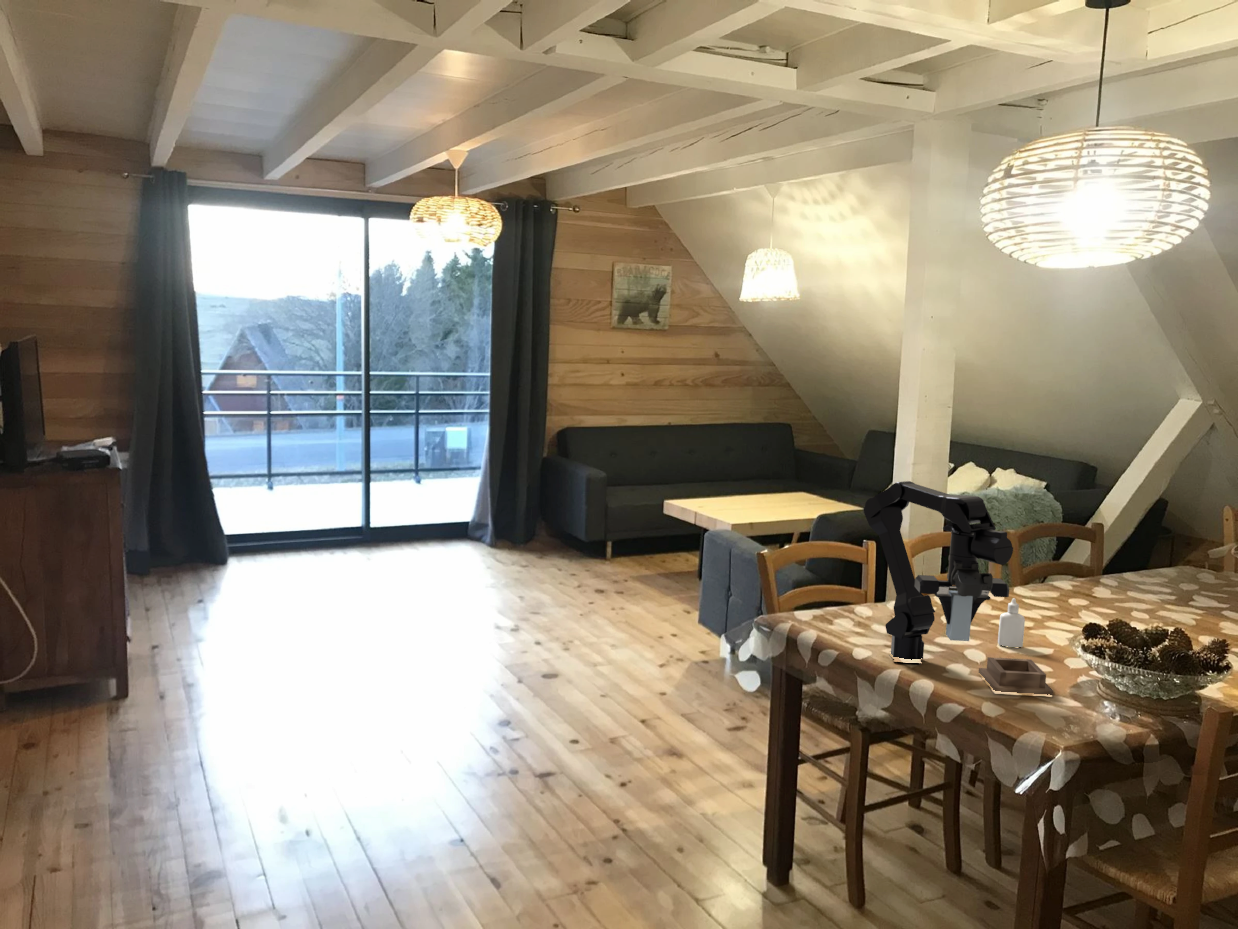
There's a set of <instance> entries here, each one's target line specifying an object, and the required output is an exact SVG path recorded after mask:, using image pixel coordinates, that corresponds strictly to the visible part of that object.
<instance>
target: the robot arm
mask: <svg viewBox="0 0 1238 929" xmlns="http://www.w3.org/2000/svg"><path fill="white" fill-rule="evenodd" d="M910 503H912V504H915V505H918V506H920V507H923V508H927V509H929V510H932V511H936V512H938V513H939V514H941V516H942V517H943V518H944V519H946V520H947V521H949V523H948V524H946V525H945V526H943V528H942V529H943V530H944V531H945V532H946V531H947V532H950V533H951V534H950V545H949V555H948V569H947V570H948V572H947V573H946V579H947V580H941V579H940V580H939V579H937V578H936V577H935V576H934V575H927V574H925V575H924V574H918V575H917V576H916V577H915V574H914V572H913V569H912V566H911V563H910V559H909V555H908V553H907V552H908V551H907V549H906V545H905V543H904V539H903V536H902V532H901V528H902V524H903V521H904V516H903V511H904V510H905V509H906V508H907V507H908V506H909V504H910ZM863 514H864V517H865V518H866V521H867V524H868V526H869V527H870V528H871V529H872V530H873V531H874V533H876V534H877V535H878V537H879V540H880V544H881V546H882V550H883V553H884V554H883V555H884V558H885V560H886V565H887V567H888V568H887V569H888V571H889V575H890V578H891V581H892V584H893V588H894V591H895V594H896V596H895V600H894V604H893V612H894V616H893V617H892V618H891V619H890V620H889V621H887V623H885V630H886V634H888V635H890V636H891V645H890V652H891V654H892V655H893V657H899V658H904V659H911V660H912V659H921V658H922V660H923V659H924V652H925V642H924V641H923V635H928V634H929V631H930V630H931V627H932V626H933V625H934V624H933V623H934V622H935V614H934V613H936V610H935V609H934V607H933V606H934V605H933V604H932V598H931V596H930V595H935V596H936V598H938V599H939V600H938V601H939V602H940V606H941V609H942V611H943V614H944V618H945V622H946V625H947V624H950V618H951V617H950V601H951V596H950V594H949V591H958V594H959V595H960V596H965V597H966V596H973V600H972V613H971V623H972V622H973V620H974V618H975V616H976V614H977V612H978V610H979V608H980V607H981V605H982V604H983V603H984V602H985V601H989V600H991V597H990V595H989V593H991V595H992V596H994V597H995V598H1008V597H1009V595H1010V587H1009V585H1008V584H1007V583H1006V582H1005V581H1004V580H1003V579H1002V578H997V577H995V578H994V576H993V574H992V573H990V572H987V573H986V572H983V573H981V572H980V570H979V567H980V565H979V562H978V560H981V561H986V562H988V563H993V564H997V565H1000V566H1002V565H1006V564H1007V563H1008V562H1009V561H1010V560H1011V559H1012V556H1013V552H1014V547H1013V543H1012V541H1011V540H1010V538H1008V532H1007V531H1004V530H1003V531H1002V530H997V529H996V526H995V523H994V521H993V519H992V517H991V516H990V514H989V511H988V509H987V507H986V504H985V500H984V499H983V498H982V497H980V496H977V495H968V494H967V495H966V494H965V495H964V494H961V495H960V494H950V493H946V492H942V491H940V490H937V489H934V488H930V487H927V486H923V485H920V484H917V483H915V482H913V481H909V480H907V481H906V480H905V481H896V482H894V483H893V484H892V485H890V486H889V487H888V488H887V489H884V490H883V491H881V492H879V493H877V494H875V495H874V496H873V497H869V498H868V499H867V500H866V502H865V504H864V506H863ZM923 594H924V595H923ZM925 594H926V595H925Z"/></svg>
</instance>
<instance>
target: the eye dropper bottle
mask: <svg viewBox="0 0 1238 929" xmlns="http://www.w3.org/2000/svg"><path fill="white" fill-rule="evenodd" d="M1011 598H1012V597H1011ZM1019 610H1020V605H1019V603H1017V601H1016V598H1015V597H1013V598H1012V599H1011V602H1008V603H1007V612H1003V613H1001V614H1000V616H999V625H998V634H997V644H999V645H1003V646H1008V647H1022V648H1023V647H1024V646H1023V645H1024V635H1025V623H1026V619H1025V616H1024V615H1022V614H1021V613H1019ZM999 645H998V646H999Z"/></svg>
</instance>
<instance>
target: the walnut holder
mask: <svg viewBox="0 0 1238 929" xmlns="http://www.w3.org/2000/svg"><path fill="white" fill-rule="evenodd" d="M978 673H980V674H981V675H982V676H983V677H984V678H985V680H986V681H987V682H988V683H989V684H990V686H991V687H992V688H993V690H995V691H1001V692H1017V693H1034V694H1047V695H1048V694H1050V695H1053V696H1054V690H1053V688H1052V687H1051V686H1049V685H1048V683H1047V674H1046V672H1044V671H1043V670H1042V669H1041V668H1040V666H1038V665H1037V664H1036V662H1035V661H1034V660H1032V659H1031V658H1030V659H1028V658H1027V659H1026V658H1011V657H1010V658H1009V657H1008V658H1007V657H987V661H986V667H985V668H984V667H979V668H978Z"/></svg>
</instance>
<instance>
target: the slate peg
mask: <svg viewBox="0 0 1238 929" xmlns="http://www.w3.org/2000/svg"><path fill="white" fill-rule="evenodd" d="M949 594H950V596H951V601H950V617H951V618H950V624H947V623H946V625H945V626H946V627H945V635H946V637H947V638H948V640H950V641H956V642H957V641H958V642H959V641H960V642H970V637H971V624H972V622H971V613H972V600H973V596H966V597H965V596H960V595H959V594H958V591H957V590H949Z"/></svg>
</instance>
